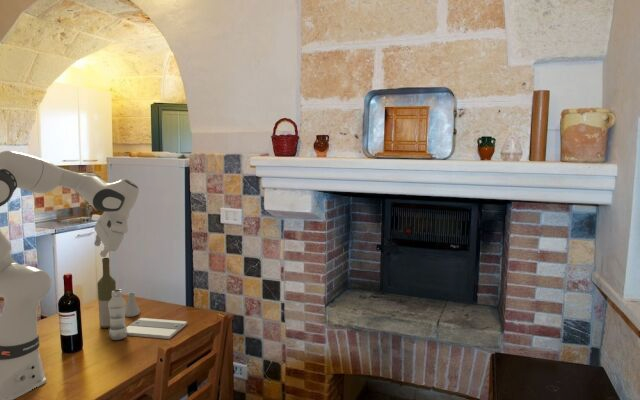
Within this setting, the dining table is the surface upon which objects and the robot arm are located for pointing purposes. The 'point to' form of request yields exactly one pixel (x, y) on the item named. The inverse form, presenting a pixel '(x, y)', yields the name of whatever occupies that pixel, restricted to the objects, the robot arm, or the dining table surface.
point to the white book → (155, 328)
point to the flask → (131, 306)
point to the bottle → (105, 294)
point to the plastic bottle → (117, 316)
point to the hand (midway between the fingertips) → (99, 250)
